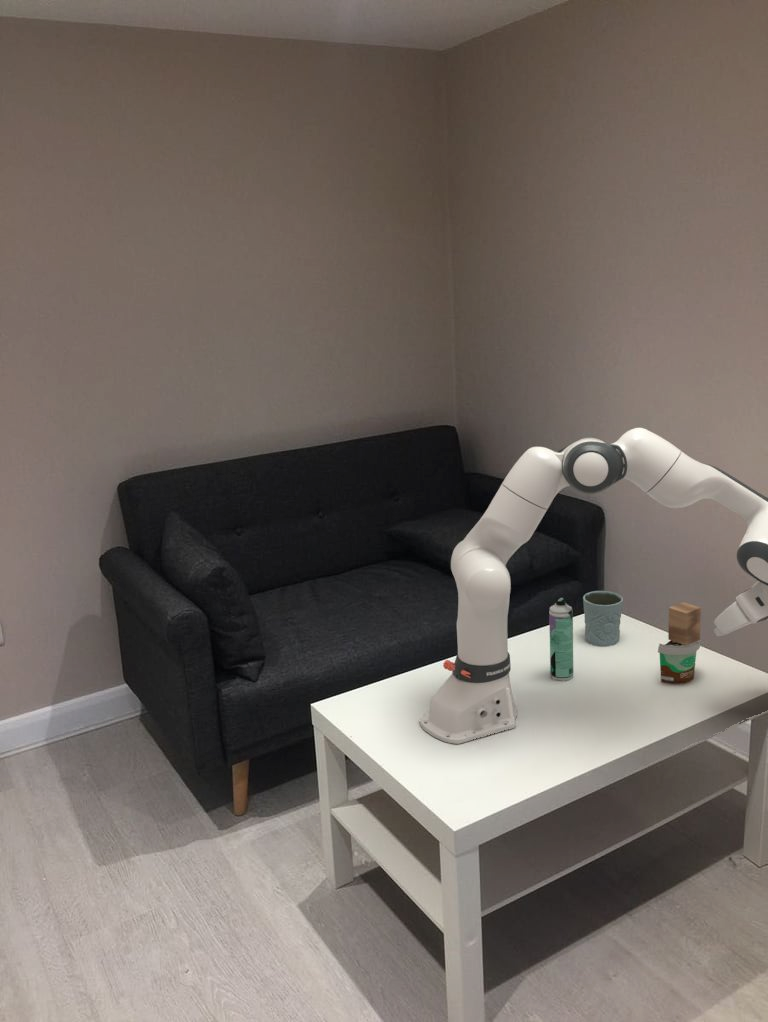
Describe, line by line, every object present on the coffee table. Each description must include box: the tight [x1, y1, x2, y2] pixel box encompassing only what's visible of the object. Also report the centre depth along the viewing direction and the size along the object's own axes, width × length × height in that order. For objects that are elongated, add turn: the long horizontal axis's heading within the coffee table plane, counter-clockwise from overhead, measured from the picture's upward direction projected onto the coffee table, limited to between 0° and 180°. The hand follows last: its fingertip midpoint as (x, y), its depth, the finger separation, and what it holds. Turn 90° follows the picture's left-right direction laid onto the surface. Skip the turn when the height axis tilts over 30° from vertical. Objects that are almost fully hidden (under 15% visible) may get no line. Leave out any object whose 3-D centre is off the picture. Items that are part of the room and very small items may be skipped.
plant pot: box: [582, 590, 624, 647], centre depth 239 cm, size 10×10×12 cm
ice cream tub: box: [657, 640, 701, 685], centre depth 215 cm, size 12×6×10 cm, turn 131°
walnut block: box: [667, 601, 702, 646], centre depth 213 cm, size 5×5×8 cm
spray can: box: [548, 597, 574, 682], centre depth 220 cm, size 6×6×20 cm
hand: (731, 627), depth 202 cm, fingers open, 8 cm apart
